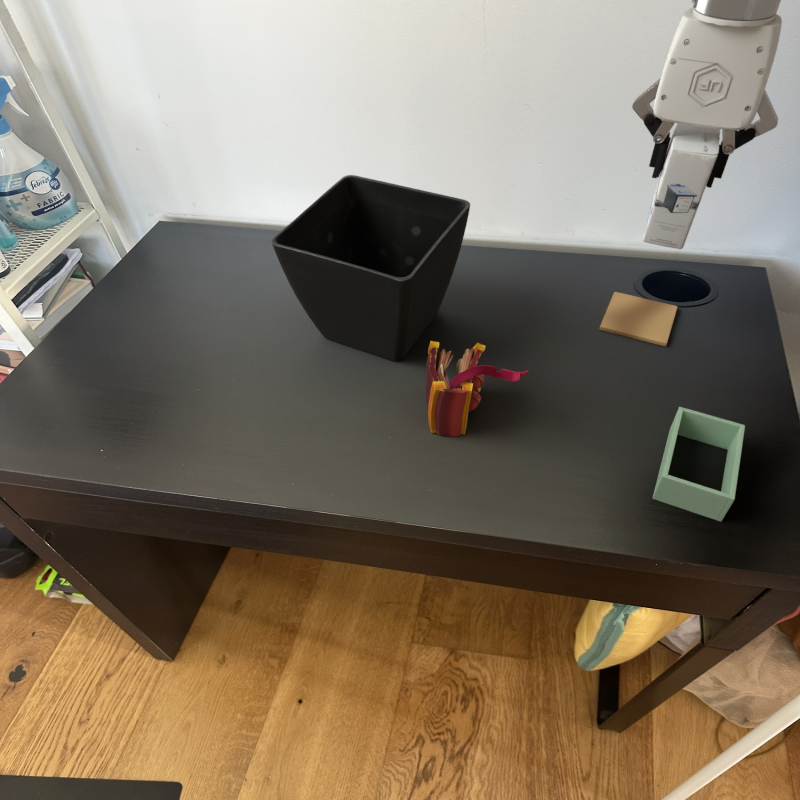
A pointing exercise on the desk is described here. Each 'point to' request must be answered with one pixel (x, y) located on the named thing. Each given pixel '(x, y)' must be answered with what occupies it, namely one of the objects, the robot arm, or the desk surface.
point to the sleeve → (695, 494)
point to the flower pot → (373, 261)
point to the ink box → (681, 184)
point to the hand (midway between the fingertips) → (683, 176)
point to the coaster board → (639, 318)
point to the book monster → (457, 388)
